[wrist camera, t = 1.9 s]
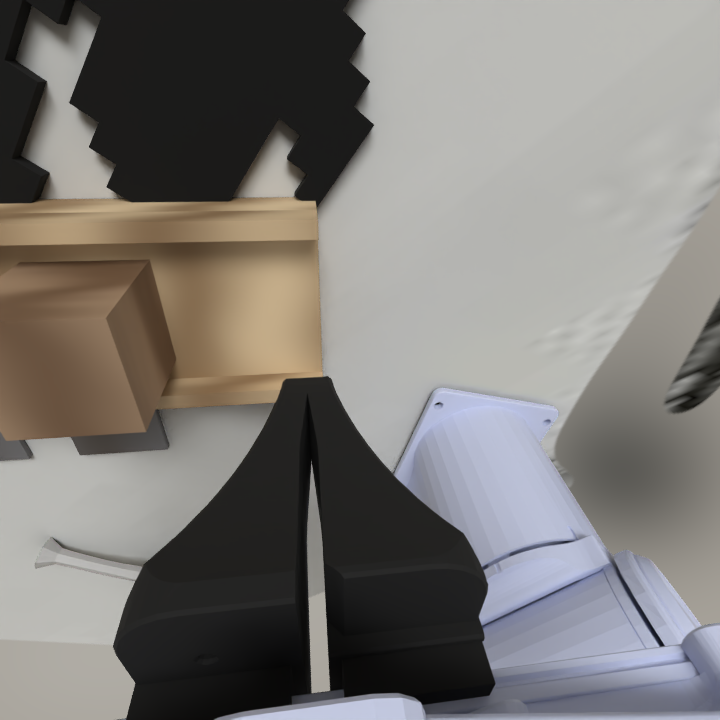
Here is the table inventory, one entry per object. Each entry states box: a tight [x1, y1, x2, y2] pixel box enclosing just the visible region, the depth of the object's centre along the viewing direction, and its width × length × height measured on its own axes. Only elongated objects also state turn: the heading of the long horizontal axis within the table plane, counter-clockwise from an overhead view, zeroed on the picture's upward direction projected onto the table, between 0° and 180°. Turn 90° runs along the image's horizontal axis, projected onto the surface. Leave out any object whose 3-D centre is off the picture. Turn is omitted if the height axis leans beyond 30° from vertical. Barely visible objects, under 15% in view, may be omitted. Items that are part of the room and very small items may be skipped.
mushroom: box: [35, 538, 142, 581], centre depth 28 cm, size 7×5×12 cm
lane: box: [0, 197, 323, 461], centre depth 18 cm, size 22×13×4 cm, turn 89°
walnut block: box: [0, 259, 176, 441], centre depth 15 cm, size 4×4×4 cm
